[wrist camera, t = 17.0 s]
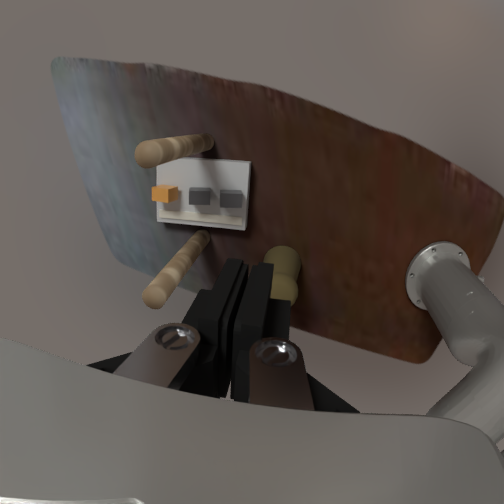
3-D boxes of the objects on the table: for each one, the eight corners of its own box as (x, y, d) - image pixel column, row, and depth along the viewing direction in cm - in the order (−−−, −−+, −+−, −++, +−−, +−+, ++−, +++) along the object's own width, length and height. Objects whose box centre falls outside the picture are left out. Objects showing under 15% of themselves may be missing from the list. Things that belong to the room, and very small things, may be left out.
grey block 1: (210, 187, 46) (210, 191, 44) (210, 200, 47) (210, 205, 45) (189, 187, 46) (188, 190, 44) (189, 200, 47) (188, 204, 44)
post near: (214, 133, 45) (160, 140, 27) (213, 151, 46) (159, 168, 28) (197, 133, 46) (134, 140, 27) (197, 150, 47) (134, 168, 28)
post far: (210, 229, 51) (163, 290, 33) (210, 245, 52) (164, 311, 34) (194, 228, 51) (141, 286, 33) (194, 243, 52) (143, 307, 34)
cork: (288, 286, 53) (285, 324, 43) (256, 268, 53) (246, 303, 42) (308, 258, 51) (310, 291, 41) (275, 238, 50) (269, 268, 40)
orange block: (177, 186, 46) (168, 189, 44) (177, 199, 47) (168, 203, 45) (161, 184, 47) (151, 187, 45) (161, 197, 48) (152, 200, 46)
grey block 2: (241, 190, 46) (242, 193, 44) (240, 203, 47) (241, 208, 44) (220, 189, 45) (220, 193, 43) (219, 203, 46) (219, 207, 44)
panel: (251, 161, 46) (249, 163, 44) (246, 226, 50) (244, 231, 48) (162, 156, 48) (156, 158, 45) (161, 217, 51) (156, 222, 49)
